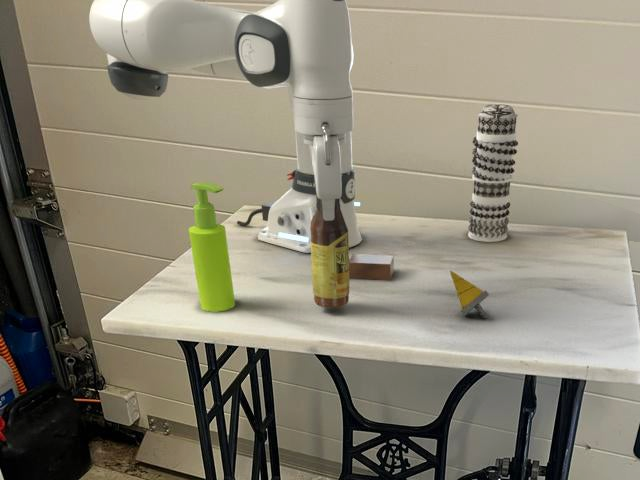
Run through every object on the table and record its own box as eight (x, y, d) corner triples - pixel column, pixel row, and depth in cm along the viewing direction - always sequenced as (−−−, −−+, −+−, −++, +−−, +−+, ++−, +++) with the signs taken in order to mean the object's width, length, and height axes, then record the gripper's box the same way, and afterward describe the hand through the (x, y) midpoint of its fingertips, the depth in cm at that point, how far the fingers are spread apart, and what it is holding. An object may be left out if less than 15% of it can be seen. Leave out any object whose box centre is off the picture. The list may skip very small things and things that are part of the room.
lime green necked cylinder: (223, 315, 124) (206, 190, 112) (193, 307, 127) (173, 184, 115) (246, 304, 128) (231, 182, 116) (216, 296, 131) (199, 177, 119)
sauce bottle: (344, 311, 123) (341, 186, 110) (309, 308, 124) (301, 183, 111) (353, 296, 128) (351, 175, 115) (319, 293, 129) (313, 173, 116)
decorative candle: (482, 245, 154) (493, 111, 139) (458, 233, 160) (465, 104, 145) (517, 238, 157) (531, 107, 142) (491, 227, 164) (503, 101, 149)
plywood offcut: (348, 278, 138) (348, 262, 136) (352, 269, 142) (352, 253, 140) (390, 280, 137) (390, 264, 135) (393, 271, 141) (393, 255, 139)
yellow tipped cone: (474, 328, 121) (437, 279, 120) (473, 329, 126) (438, 282, 125) (500, 307, 120) (463, 258, 118) (498, 309, 125) (462, 262, 124)
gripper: (349, 130, 100) (352, 233, 109) (340, 105, 117) (343, 196, 125) (304, 131, 100) (310, 234, 108) (301, 106, 116) (306, 198, 124)
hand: (327, 214), depth 117 cm, fingers closed on sauce bottle, 4 cm apart
